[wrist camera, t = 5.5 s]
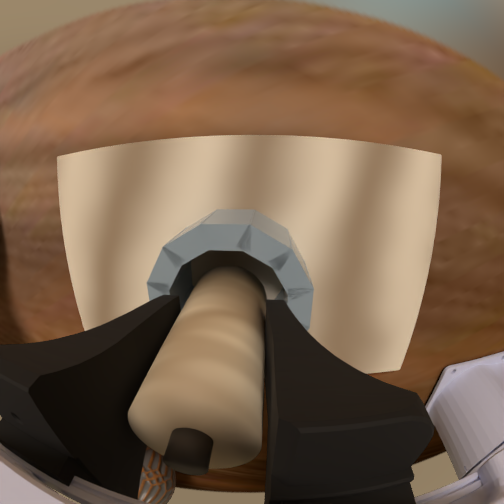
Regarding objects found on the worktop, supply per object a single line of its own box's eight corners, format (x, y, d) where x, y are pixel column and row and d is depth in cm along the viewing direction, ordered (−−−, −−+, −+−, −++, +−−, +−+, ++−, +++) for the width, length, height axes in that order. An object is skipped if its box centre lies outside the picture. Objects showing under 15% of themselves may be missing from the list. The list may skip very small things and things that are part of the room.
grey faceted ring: (307, 210, 13) (319, 225, 10) (298, 331, 15) (303, 372, 12) (169, 209, 14) (139, 223, 10) (180, 326, 16) (161, 363, 12)
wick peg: (266, 264, 11) (259, 435, 4) (267, 329, 12) (260, 495, 5) (190, 265, 12) (93, 409, 4) (198, 328, 13) (141, 478, 5)
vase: (162, 472, 24) (145, 528, 16) (113, 444, 23) (86, 500, 14) (194, 462, 22) (177, 529, 14) (137, 429, 21) (107, 499, 13)
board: (433, 154, 13) (441, 154, 12) (395, 362, 17) (399, 369, 16) (64, 156, 14) (57, 156, 13) (97, 348, 18) (92, 354, 17)
